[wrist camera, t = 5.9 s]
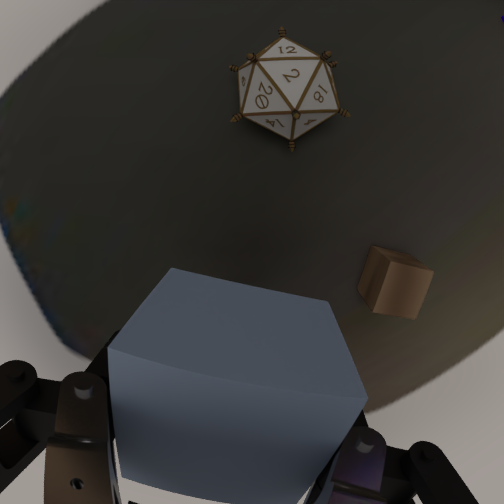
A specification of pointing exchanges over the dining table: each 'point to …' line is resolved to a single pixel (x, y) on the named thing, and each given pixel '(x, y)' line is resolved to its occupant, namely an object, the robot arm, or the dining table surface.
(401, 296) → the walnut block
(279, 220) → the dining table surface
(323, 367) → the blue block
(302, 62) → the game die
